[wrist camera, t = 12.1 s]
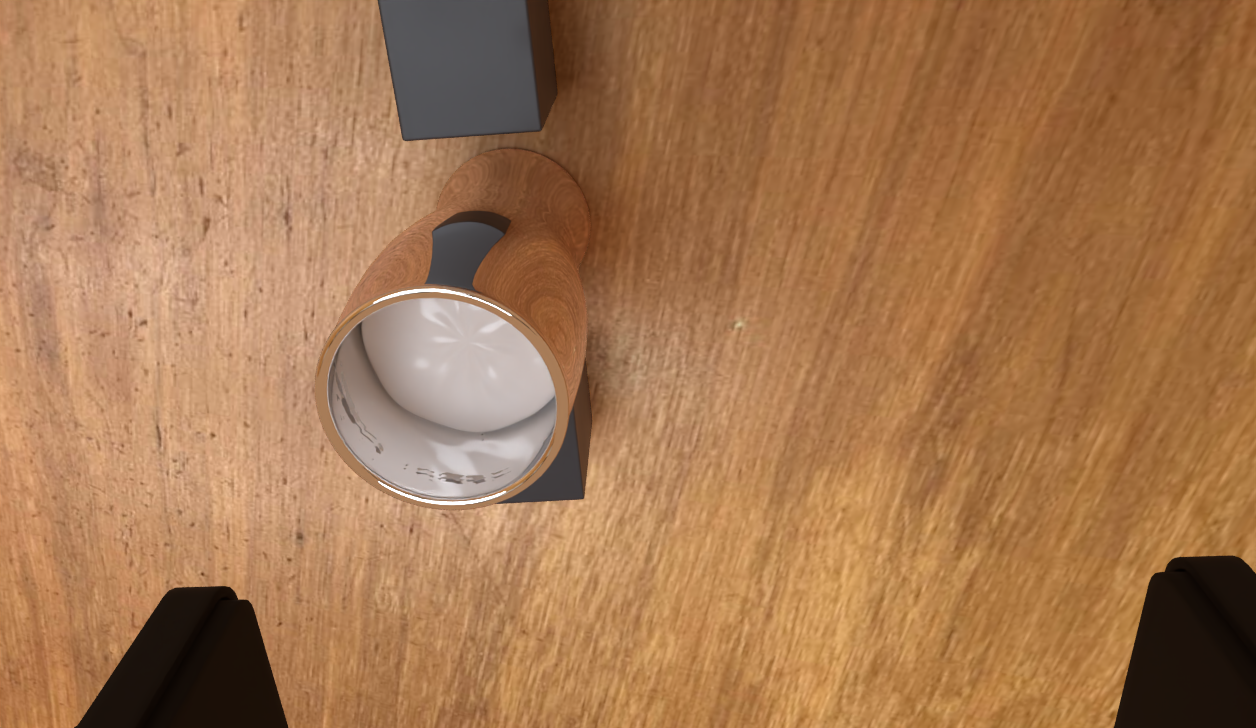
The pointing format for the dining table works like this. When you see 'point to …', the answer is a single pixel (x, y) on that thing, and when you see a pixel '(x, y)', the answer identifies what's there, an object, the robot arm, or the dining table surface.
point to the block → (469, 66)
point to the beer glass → (465, 340)
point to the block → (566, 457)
